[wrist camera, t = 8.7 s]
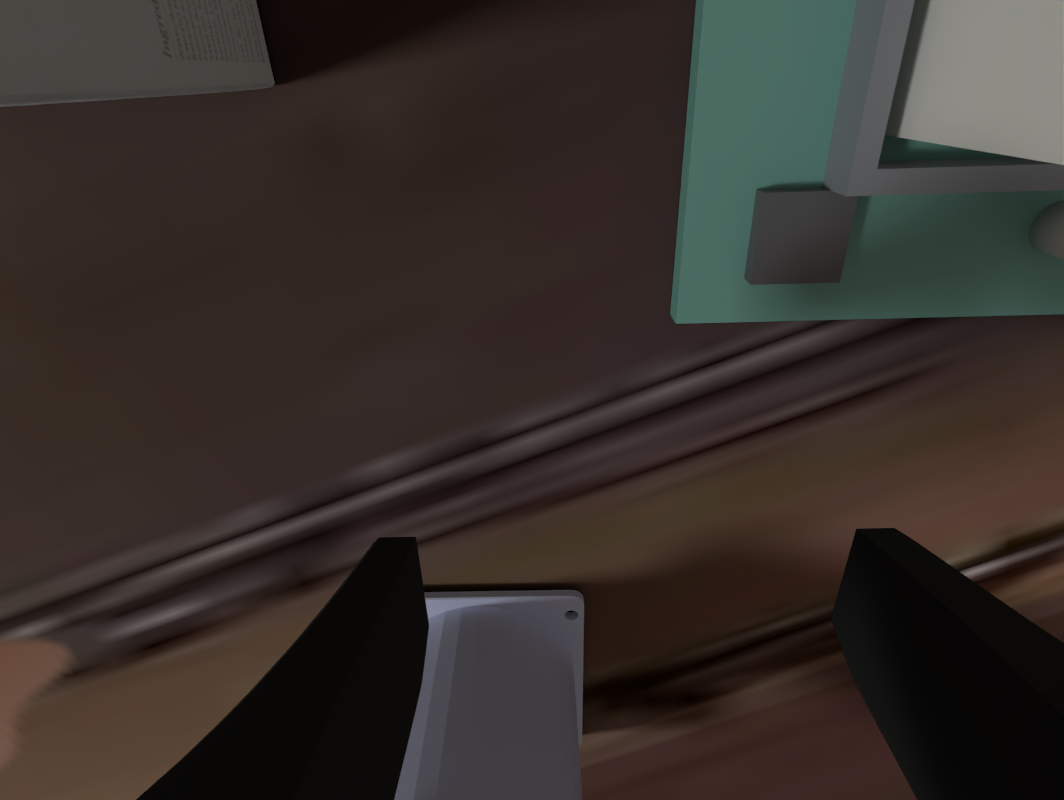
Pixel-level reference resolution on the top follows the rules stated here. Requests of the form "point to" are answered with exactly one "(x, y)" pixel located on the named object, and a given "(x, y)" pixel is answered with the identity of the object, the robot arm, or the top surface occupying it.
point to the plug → (984, 77)
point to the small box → (128, 49)
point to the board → (843, 182)
